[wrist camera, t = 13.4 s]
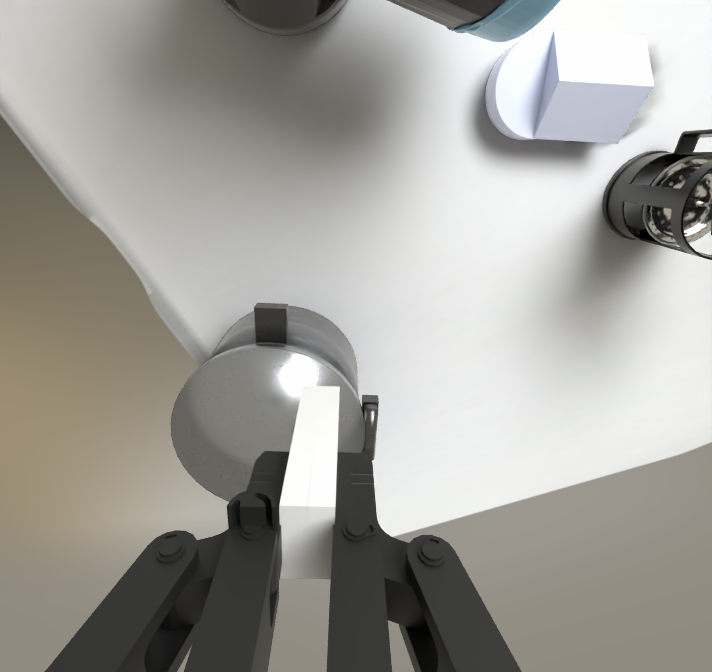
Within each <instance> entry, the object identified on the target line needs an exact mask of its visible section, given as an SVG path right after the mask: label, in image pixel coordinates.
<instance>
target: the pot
mask: <svg viewBox="0 0 712 672" xmlns="http://www.w3.org/2000/svg"><path fill="white" fill-rule="evenodd" d="M267 343H269V344H282V345H287V346H292V347H296V348H299V349H302V350H305V351H308V352H310V353H312V354H314V355H317V356H319V357H320V358H322V359H324V360H325V361H327V362H328V363H330V364H331V365H332V366H334V367H335V368H336V369H337V370H338V371H340V372H341V374H342V375H343V376H344V377H345V378H346V379H347V380H348V381H349V383H350V384H351V386H352V387H353V389H354V390H355V392H356V394H357V396H358V378H357V363H356V358H355V355H354V352H353V349H352V347H351V345H350V343H349V341H348V340H347V338H346V337H345V335H344V334H343V333H342V332H341V330H340V329H339V328H338V327H337V326H335V325H334V324H333V323H332V322H331V321H329V320H328V319H326V318H325V317H323V316H321V315H319V314H317V313H315V312H313V311H310V310H307V309H304V308H299V307H294V306H288V304H271V303H257V304H256V305H255V307H254V312H252V313H250V314H248V315H246V316H245V317H243V318H241V319H240V320H239V321H238V322H236V323H235V324H234V325H233V326H232V327H231V329H230V330H229V331H228V332H227V334H226V335H225V337H224V338H223V339H222V341H221V342H220V344H219V345H218V347H217V348H216V350H215V351H214V353H213V354H212V355H211V357H210V358H209V360H210V359H211V358H213V357H215V356H216V355H218V354H221V353H223V352H225V351H227V350H230V349H233V348H237V347H240V346H245V345H252V344H267ZM378 403H379V402H378V395H362V411H363V416H364V407H365V406H366V405H368V404H373V405H376V406H377V407H378Z"/></svg>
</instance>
